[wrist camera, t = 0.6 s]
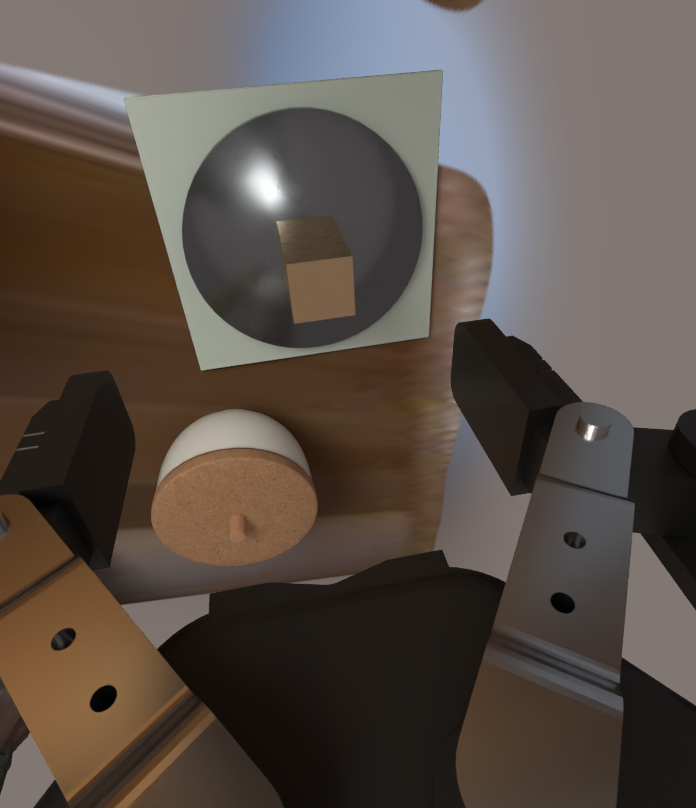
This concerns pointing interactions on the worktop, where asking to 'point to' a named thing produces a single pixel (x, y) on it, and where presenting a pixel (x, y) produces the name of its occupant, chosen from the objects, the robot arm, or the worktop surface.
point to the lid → (302, 227)
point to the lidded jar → (234, 490)
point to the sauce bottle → (9, 731)
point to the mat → (227, 108)
